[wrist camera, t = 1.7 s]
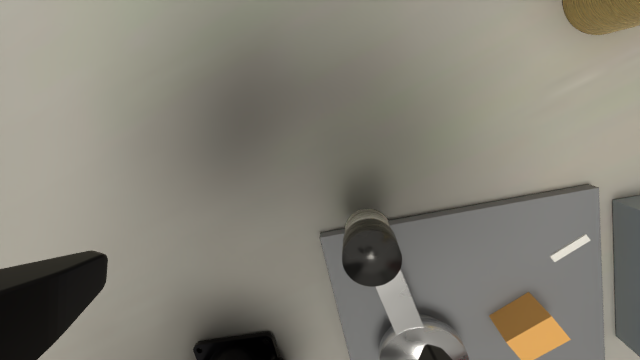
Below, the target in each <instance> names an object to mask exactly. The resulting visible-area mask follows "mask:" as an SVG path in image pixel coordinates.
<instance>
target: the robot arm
mask: <svg viewBox="0 0 640 360" xmlns="http://www.w3.org/2000/svg"><path fill="white" fill-rule="evenodd" d="M107 263H108V258H107V256H106V255H105V254H103V253H99V252H95V251H86V252H81V253H76V254H71V255H66V256H62V257H57V258H52V259H47V260H42V261H38V262H33V263H28V264H23V265H18V266H13V267H9V268H4V269H0V360H37V359H38V358H39V357H40V356H41V355H42V354H43V353H44V352H45V351H47V350H48V349H49V348H50V347H51V346H52V345H53V344H54V343H55V342H56V341H57V340H58V339H59V337H60V336H61V335H62V334H63V333H64V332H65V331H66V330H67V329H68V328H69V327H70V325H71V324H72V323H73V322H74V321H75V320H76V319H77V317H78V316H79V315H80V314H81V313H82V312H83V311H84V310H85V308H86V307H87V306H88V305H89V304H90V303H91V302H92V301H93V299H94V298H95V297H96V296H97V295H98V294H99V293H100V291H101V290H102V289H103V287H104V285H105V283H106V277H107ZM265 339H268V340H265ZM200 348H201V349H200ZM193 351H194V354H195V356H196V359H197V360H283V359H282V358H281V357H280V355H279V352H278V349H277V346H276V342H275V339H274V336H273V335H272V334H271V333H269V332H263V333H256V334H249V335H242V336H234V337H227V338H220V339H213V340H205V341H199V342H197V343H196V345H195V346H194V348H193ZM418 360H452V358H451V357H450V356H449V355H448V354H447V353H446V352H445V351H444V350H443V349H442V348H440V347H437V346H434V345H430V344H426V345H425V346H424V347H423V349H422V351H421V354H420V356H419V359H418Z"/></svg>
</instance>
